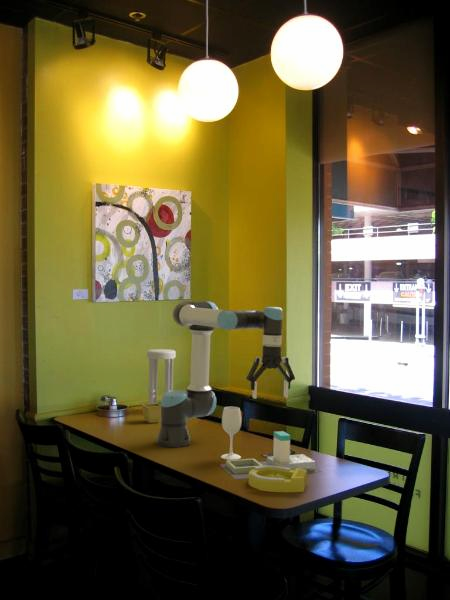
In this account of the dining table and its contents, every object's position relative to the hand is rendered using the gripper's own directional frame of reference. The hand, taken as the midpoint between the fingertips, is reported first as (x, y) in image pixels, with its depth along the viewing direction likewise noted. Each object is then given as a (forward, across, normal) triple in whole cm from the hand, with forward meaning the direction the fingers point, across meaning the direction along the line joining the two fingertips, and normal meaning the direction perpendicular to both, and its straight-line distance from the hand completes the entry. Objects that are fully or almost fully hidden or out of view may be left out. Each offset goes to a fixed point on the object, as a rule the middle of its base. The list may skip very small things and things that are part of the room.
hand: (270, 397), depth 252 cm
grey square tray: (+27, -12, -4) cm, 30 cm away
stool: (+30, -22, +110) cm, 116 cm away
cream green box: (+27, +2, -8) cm, 28 cm away
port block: (+27, +6, -8) cm, 29 cm away
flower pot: (+30, -31, +86) cm, 97 cm away
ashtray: (+27, -6, -25) cm, 37 cm away
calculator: (+28, +8, +9) cm, 30 cm away
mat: (+27, -2, -7) cm, 28 cm away
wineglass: (+28, -12, +13) cm, 33 cm away
